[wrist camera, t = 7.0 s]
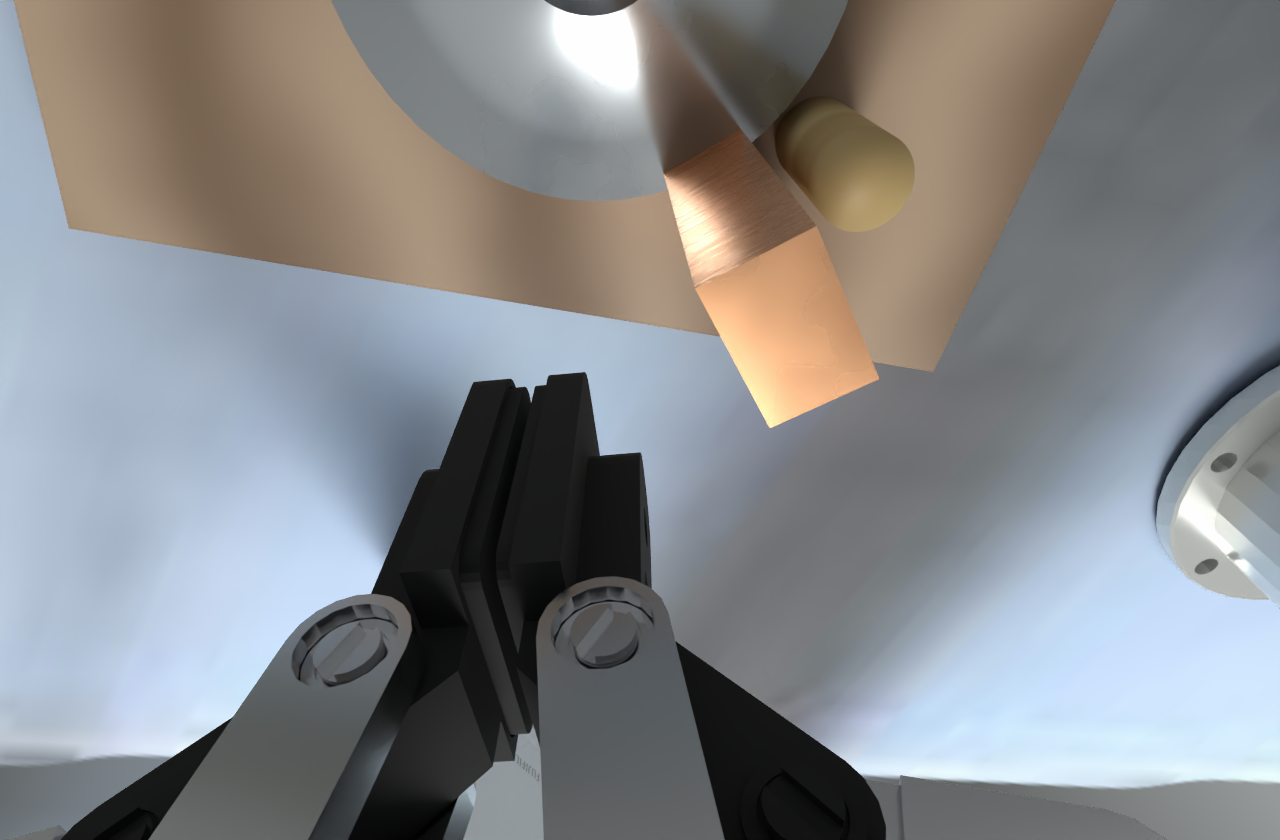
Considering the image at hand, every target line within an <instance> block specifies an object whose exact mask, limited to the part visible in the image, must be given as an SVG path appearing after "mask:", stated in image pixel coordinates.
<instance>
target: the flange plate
mask: <svg viewBox="0 0 1280 840" xmlns="http://www.w3.org/2000/svg"><path fill="white" fill-rule="evenodd" d="M331 1H332V4H333V6H334V8H335V10H336V12H337V14H338V16H339V18H340V20H341V22H342V24H343V26H344V28H345V31H346V33H347V35H348V36H349V38H350V39H351V41H352V43H353V44H354V46H355V48H356V49H357V51H358V52H359V54H360V56H361V57H362V59H363V61H364V62H365V64H366V65H367V67H368V69H369V70H370V71H371V73H372V74H373V75H374V76H375V78H376V79H377V80H378V82H379V83H380V84H381V86H382V87H383V88H384V89H385V91H386V92H387V93H388V95H389V96H390V97H391V98H392V100H393V101H394V102H395V103H396V104H397V105H398V106H399V107H400V108H401V109H402V110H403V111H404V112H405V113H406V114H407V115H408V116H409V117H410V118H411V119H412V121H413V122H414V123H415V124H416V125H417V126H418V127H420V128H421V129H422V130H423V131H424V132H426V133H427V134H428V135H429V136H430V137H432V138H433V139H434V140H435V141H436V142H438V143H439V144H440V145H441V146H442V147H444V148H445V149H446V150H448V151H449V152H451V153H452V154H454V155H455V156H457V157H458V158H460V159H462V160H463V161H465V162H466V163H468V164H469V165H471V166H472V167H474V168H476V169H478V170H480V171H482V172H484V173H486V174H488V175H490V176H492V177H494V178H496V179H498V180H500V181H502V182H505V183H507V184H510V185H513V186H516V187H519V188H522V189H525V190H528V191H530V192H534V193H538V194H543V195H548V196H552V197H557V198H562V199H572V200H585V201H607V200H624V199H630V198H635V197H640V196H646V195H651V194H655V193H658V192H661V191H665V190H668V192H669V196H670V199H671V203H672V206H673V210H674V214H675V217H676V221H677V225H678V228H679V232H680V236H681V239H682V243H683V247H684V250H685V254H686V258H687V261H688V265H689V269H690V272H691V276H692V280H693V283H694V287H695V290H696V292H697V293H698V295H699V297H700V299H701V301H702V303H703V305H704V306H705V308H706V310H707V312H708V314H709V316H710V318H711V319H712V321H713V323H714V325H715V327H716V329H717V331H718V332H719V334H720V336H721V338H722V340H723V342H724V344H725V345H726V347H727V349H728V351H729V353H730V355H731V357H732V359H733V360H734V362H735V364H736V366H737V368H738V370H739V372H740V373H741V375H742V377H743V379H744V381H745V383H746V385H747V386H748V388H749V390H750V392H751V394H752V396H753V398H754V399H755V401H756V403H757V405H758V407H759V409H760V411H761V412H762V414H763V416H764V418H765V420H766V422H767V424H768V425H769V427H770V428H772V427H774V426H776V425H778V424H780V423H783V422H785V421H787V420H789V419H791V418H794V417H796V416H798V415H800V414H803V413H805V412H807V411H809V410H811V409H814V408H816V407H818V406H820V405H822V404H825V403H827V402H829V401H831V400H833V399H836V398H838V397H840V396H842V395H844V394H847V393H849V392H851V391H853V390H856V389H858V388H860V387H862V386H864V385H867V384H869V383H871V382H873V381H875V380H878V379H879V377H878V375H877V372H876V370H875V367H874V365H873V362H872V360H871V357H870V355H869V353H868V350H867V348H866V345H865V343H864V340H863V338H862V335H861V333H860V331H859V328H858V326H857V323H856V321H855V318H854V316H853V313H852V311H851V309H850V306H849V304H848V301H847V299H846V296H845V294H844V291H843V289H842V287H841V284H840V282H839V279H838V277H837V274H836V272H835V269H834V267H833V265H832V262H831V260H830V257H829V255H828V252H827V250H826V247H825V245H824V243H823V240H822V238H821V235H820V233H819V230H818V228H817V226H816V224H815V223H814V222H813V221H812V219H811V218H810V217H809V215H808V214H807V213H806V212H805V210H804V209H803V208H802V206H801V205H800V204H799V203H798V201H797V200H796V199H795V197H794V196H793V195H792V194H791V192H790V191H789V190H788V188H787V187H786V186H785V185H784V183H783V182H782V181H781V180H780V178H779V177H778V176H777V174H776V173H775V172H774V171H773V169H772V168H771V167H770V165H769V164H768V163H767V162H766V160H765V159H764V158H763V156H762V155H761V154H760V153H759V151H758V150H757V149H756V148H755V146H754V145H753V144H752V142H753V141H754V140H755V139H756V138H758V137H759V136H760V135H761V134H762V133H764V132H765V131H766V130H767V128H768V127H769V126H770V125H771V124H772V123H773V122H774V121H775V120H776V119H777V118H778V117H779V116H780V115H781V114H782V113H783V112H784V111H785V110H786V108H787V107H788V106H789V105H790V103H791V102H792V101H793V99H794V98H795V97H796V95H797V94H798V93H799V91H800V90H801V89H802V87H803V86H804V85H805V84H806V82H807V81H808V80H809V78H810V76H811V75H812V73H813V71H814V70H815V68H816V66H817V65H818V63H819V61H820V60H821V58H822V56H823V54H824V53H825V51H826V49H827V48H828V46H829V44H830V42H831V39H832V37H833V35H834V33H835V31H836V28H837V26H838V24H839V22H840V20H841V17H842V15H843V13H844V11H845V8H846V5H847V2H848V0H331Z"/></svg>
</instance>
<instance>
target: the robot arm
mask: <svg viewBox="0 0 1280 840" xmlns="http://www.w3.org/2000/svg"><path fill="white" fill-rule="evenodd" d="M1156 527H1157V532H1158V537H1159V542H1160V544H1161V546H1162V548H1163V549H1164V551H1165V553H1166V554H1167V556H1168V558H1169V559H1170V560H1171V561H1172V562H1173V563H1174V564H1175V565H1176V567H1177V568H1178V569H1179V570H1180V571H1181V572H1182V573H1183V574H1184V575H1185V576H1186V577H1187V578H1188V579H1189V580H1191V581H1192V582H1194V583H1196V584H1197V585H1199V586H1200V587H1202V588H1204V589H1205V590H1208V591H1211V592H1214V593H1217V594H1220V595H1223V596H1226V597H1234V598H1242V599H1251V600H1264V599H1270V600H1271V601H1272V602H1273V603H1274V604H1275V605H1276V606H1277V607H1278V608H1279V609H1280V365H1279V366H1277V367H1276V368H1274V369H1272V370H1271V371H1269V372H1267V373H1265V374H1264V375H1262V376H1261V377H1260V378H1258V379H1257V380H1256V381H1254V382H1253V383H1252V384H1250V385H1249V386H1248V387H1246V388H1245V389H1244V390H1242V391H1241V392H1239V393H1238V394H1237V395H1235V396H1234V397H1233V398H1231V399H1230V400H1229V401H1228V402H1227V403H1226V404H1225V405H1224V406H1223V407H1222V408H1221V409H1220V410H1219V411H1218V412H1216V413H1215V414H1214V415H1213V416H1212V417H1211V418H1210V419H1209V420H1208V421H1207V422H1206V423H1205V424H1204V425H1203V426H1202V427H1201V428H1200V430H1199V431H1198V432H1197V433H1196V435H1195V436H1194V437H1193V438H1192V439H1191V441H1190V442H1189V443H1188V444H1187V445H1186V447H1185V448H1184V449H1183V450H1182V452H1181V454H1180V455H1179V457H1178V459H1177V461H1176V462H1175V464H1174V466H1173V467H1172V469H1171V471H1170V472H1169V474H1168V476H1167V478H1166V481H1165V484H1164V486H1163V489H1162V492H1161V495H1160V497H1159V500H1158V507H1157V516H1156ZM532 726H534V729H535V733H536V736H537V739H538V743H539V746H540V754H541V780H542V806H543V832H544V840H1167V839H1166V838H1164V837H1163V836H1161V835H1160V834H1158V833H1156V832H1155V831H1153V830H1152V829H1150V828H1149V827H1147V826H1145V825H1144V824H1142V823H1140V822H1139V821H1137V820H1136V819H1134V818H1131V817H1128V816H1125V815H1122V814H1118V813H1115V812H1112V811H1109V810H1106V809H1102V808H1095V807H1090V806H1083V805H1078V804H1071V803H1066V802H1059V801H1053V800H1047V799H1041V798H1035V797H1029V796H1023V795H1017V794H1011V793H1005V792H999V791H992V790H987V789H981V788H974V787H968V786H962V785H956V784H950V783H944V782H938V781H932V780H926V779H920V778H914V777H908V776H902V775H900V781H899V785H895V784H890V783H884V782H878V781H872V780H866V779H864V778H863V777H862V776H861V775H860V774H859V773H858V772H857V771H856V770H855V769H853V768H852V767H851V766H850V765H849V764H848V763H847V762H846V761H845V760H843V759H842V758H840V757H839V756H838V755H836V754H835V753H833V752H832V751H830V750H829V749H828V748H826V747H825V746H823V745H822V744H820V743H819V742H818V741H816V740H815V739H813V738H812V737H811V736H809V735H808V734H806V733H805V732H803V731H802V730H801V729H799V728H798V727H796V726H795V725H794V724H792V723H791V722H789V721H788V720H786V719H785V718H784V717H782V716H781V715H779V714H778V713H776V712H775V711H774V710H772V709H771V708H769V707H768V706H767V705H765V704H764V703H762V702H761V701H759V700H758V699H757V698H755V697H754V696H752V695H751V694H750V693H748V692H747V691H745V690H744V689H742V688H741V687H740V686H738V685H737V684H735V683H734V682H732V681H731V680H730V679H728V678H727V677H725V676H724V675H723V674H721V673H720V672H718V671H717V670H715V669H714V668H713V667H711V666H710V665H708V664H707V663H706V662H704V661H703V660H701V659H700V658H698V657H697V656H696V655H694V654H693V653H691V652H690V651H688V650H687V649H686V648H684V647H683V646H681V645H680V644H679V643H677V642H676V641H675V638H674V634H673V630H672V626H671V622H670V618H669V614H668V611H667V609H666V607H665V605H664V603H663V601H662V599H661V597H659V596H658V595H657V594H656V593H655V592H654V591H653V590H652V588H651V550H650V530H649V516H648V505H647V495H646V486H645V477H644V469H643V461H642V456H641V453H628V454H616V455H604V456H600V454H599V447H598V441H597V434H596V428H595V422H594V415H593V409H592V403H591V396H590V390H589V384H588V379H587V375H586V373H585V372H583V373H571V374H560V375H550V376H548V379H547V384H546V385H542V386H536V387H535V390H534V394H533V398H532V402H531V401H530V396H529V393H528V390H527V388H526V387H519V388H516V387H515V384H514V382H513V380H512V379H503V380H491V381H480V382H474V383H473V385H472V387H471V389H470V392H469V394H468V397H467V400H466V402H465V405H464V407H463V410H462V412H461V415H460V418H459V420H458V423H457V425H456V428H455V430H454V433H453V436H452V438H451V441H450V443H449V446H448V448H447V451H446V454H445V456H444V459H443V461H442V464H441V466H440V469H433V470H427V471H425V472H423V474H422V476H421V477H420V479H419V481H418V483H417V486H416V488H415V491H414V493H413V495H412V498H411V500H410V502H409V505H408V507H407V510H406V512H405V514H404V517H403V519H402V522H401V524H400V526H399V529H398V531H397V533H396V536H395V538H394V541H393V543H392V545H391V548H390V550H389V552H388V555H387V557H386V560H385V562H384V564H383V567H382V569H381V571H380V574H379V576H378V579H377V581H376V583H375V586H374V588H373V591H372V593H371V594H367V595H356V596H353V597H349V598H346V599H343V600H339V601H336V602H334V603H332V604H330V605H328V606H326V607H324V608H322V609H320V610H318V611H317V612H315V613H314V614H313V615H312V616H310V617H309V618H308V619H306V620H305V621H304V622H302V623H301V624H300V625H299V626H298V627H297V628H296V629H295V631H294V632H293V633H292V634H291V635H290V636H289V637H288V639H287V640H286V641H285V643H284V644H283V645H282V647H281V648H280V650H279V651H278V653H277V654H276V656H275V657H274V658H273V660H272V661H271V663H270V664H269V666H268V667H267V669H266V670H265V672H264V673H263V674H262V676H261V677H260V679H259V680H258V682H257V683H256V685H255V686H254V687H253V689H252V690H251V692H250V693H249V695H248V696H247V698H246V699H245V701H244V702H243V703H242V705H241V706H240V708H239V709H238V711H237V712H236V714H235V715H234V716H233V717H232V718H231V719H229V720H228V721H226V722H225V723H223V724H222V725H220V726H219V727H217V728H216V729H214V730H213V731H211V732H210V733H208V734H207V735H205V736H204V737H202V738H201V739H199V740H198V741H196V742H195V743H193V744H192V745H190V746H189V747H187V748H186V749H184V750H183V751H181V752H180V753H178V754H177V755H175V756H174V757H172V758H171V759H169V760H168V761H166V762H165V763H163V764H162V765H160V766H158V767H157V768H155V769H154V770H152V771H151V772H149V773H148V774H146V775H145V776H143V777H142V778H141V779H139V780H137V781H136V782H134V783H133V784H131V785H130V786H129V787H127V788H125V789H124V790H122V791H121V792H119V793H118V794H116V795H115V796H113V797H112V798H110V799H109V800H107V801H106V802H104V803H103V804H101V805H100V806H98V807H97V808H96V809H94V810H93V811H92V812H91V813H89V814H88V815H87V816H86V817H84V818H83V819H82V820H80V821H79V822H78V823H76V824H75V825H74V826H73V827H72V828H71V829H70V830H69V831H68V832H66V831H65V830H64V829H63V828H62V827H61V826H60V825H58V826H55V827H51V828H47V829H44V830H40V831H36V832H33V833H29V834H26V835H22V836H19V837H15V838H11V839H7V840H463V839H464V836H465V833H466V830H467V827H468V824H469V821H470V818H471V815H472V812H473V809H474V804H475V798H476V793H477V791H476V784H475V782H476V781H477V780H478V779H479V778H480V777H481V776H482V775H484V774H485V773H486V772H487V771H488V770H489V769H490V768H491V767H493V762H503V761H514V760H515V753H516V747H517V740H518V734H529V733H530V732H531V729H532Z"/></svg>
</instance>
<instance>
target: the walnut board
mask: <svg viewBox="0 0 1280 840" xmlns="http://www.w3.org/2000/svg"><path fill="white" fill-rule="evenodd" d="M1115 1H1116V0H848V2H847V5H846V8H845V11H844V13H843V15H842V17H841V20H840V22H839V24H838V26H837V28H836V31H835V33H834V35H833V37H832V39H831V42H830V44H829V46H828V48H827V49H826V51H825V53H824V54H823V56H822V58H821V60H820V61H819V63H818V65H817V66H816V68H815V70H814V71H813V73H812V75H811V76H810V78H809V80H808V81H807V82H806V84H805V85H804V86H803V87H802V89H801V90H800V91H799V93H798V94H797V95H796V97H795V98H794V99H793V101H792V102H791V103H790V105H789V106H788V107H787V108H786V110H785V111H784V112H783V113H782V114H781V115H780V116H779V117H778V118H777V119H776V120H775V121H774V122H773V123H772V124H771V125H770V126H769V127H768V128H767V130H766V131H765V132H764V133H762V134H761V135H760V136H759V137H758V138H756V139H755V140H754V141H753V142H752V144H753V145H754V146H755V148H756V149H757V150H758V151H759V153H760V154H761V155H762V156H763V158H764V159H765V160H766V162H767V163H768V164H769V165H770V167H771V168H772V169H773V171H774V172H775V173H776V174H777V176H778V177H779V178H780V180H781V181H782V182H783V183H784V185H785V186H786V187H787V188H788V190H789V191H790V192H791V194H792V195H793V196H794V197H795V199H796V200H797V201H798V203H799V204H800V205H801V206H802V208H803V209H804V210H805V212H806V213H807V214H808V215H809V217H810V218H811V219H812V221H813V222H814V223H815V224H816V226H817V228H818V230H819V233H820V235H821V238H822V240H823V243H824V245H825V247H826V250H827V252H828V255H829V257H830V260H831V262H832V265H833V267H834V269H835V272H836V274H837V277H838V279H839V282H840V284H841V287H842V289H843V291H844V294H845V296H846V299H847V301H848V304H849V306H850V309H851V311H852V313H853V316H854V318H855V321H856V323H857V326H858V328H859V331H860V333H861V335H862V338H863V340H864V343H865V345H866V348H867V350H868V353H869V355H870V357H871V360H872V362H877V363H883V364H889V365H895V366H901V367H907V368H913V369H919V370H925V371H931V372H933V371H934V369H935V367H936V365H937V363H938V361H939V359H940V357H941V355H942V353H943V351H944V349H945V347H946V345H947V343H948V341H949V339H950V337H951V335H952V333H953V331H954V329H955V327H956V325H957V322H958V320H959V318H960V316H961V314H962V312H963V310H964V308H965V306H966V304H967V302H968V300H969V298H970V296H971V294H972V292H973V290H974V288H975V286H976V284H977V282H978V280H979V278H980V276H981V274H982V272H983V270H984V268H985V265H986V263H987V261H988V259H989V257H990V255H991V253H992V251H993V249H994V247H995V245H996V243H997V241H998V239H999V237H1000V235H1001V233H1002V231H1003V229H1004V227H1005V225H1006V223H1007V221H1008V219H1009V217H1010V215H1011V213H1012V211H1013V208H1014V206H1015V204H1016V202H1017V200H1018V198H1019V196H1020V194H1021V192H1022V190H1023V188H1024V186H1025V184H1026V182H1027V180H1028V178H1029V176H1030V174H1031V172H1032V170H1033V168H1034V166H1035V164H1036V162H1037V160H1038V158H1039V156H1040V154H1041V152H1042V149H1043V147H1044V145H1045V143H1046V141H1047V139H1048V137H1049V135H1050V133H1051V131H1052V129H1053V127H1054V125H1055V123H1056V121H1057V119H1058V117H1059V115H1060V113H1061V111H1062V109H1063V107H1064V105H1065V103H1066V101H1067V99H1068V97H1069V95H1070V92H1071V90H1072V88H1073V86H1074V84H1075V82H1076V80H1077V78H1078V76H1079V74H1080V72H1081V70H1082V68H1083V66H1084V64H1085V62H1086V60H1087V58H1088V56H1089V54H1090V52H1091V50H1092V48H1093V46H1094V44H1095V42H1096V40H1097V38H1098V35H1099V33H1100V31H1101V29H1102V27H1103V25H1104V23H1105V21H1106V19H1107V17H1108V15H1109V13H1110V11H1111V9H1112V7H1113V5H1114V3H1115ZM14 3H15V7H16V11H17V15H18V20H19V24H20V28H21V32H22V36H23V40H24V44H25V49H26V53H27V57H28V61H29V65H30V69H31V73H32V77H33V82H34V86H35V90H36V94H37V98H38V102H39V106H40V111H41V115H42V119H43V123H44V127H45V131H46V135H47V139H48V144H49V148H50V152H51V156H52V160H53V164H54V168H55V173H56V177H57V181H58V185H59V189H60V193H61V197H62V201H63V206H64V210H65V214H66V218H67V222H68V226H69V228H70V229H76V230H82V231H88V232H94V233H100V234H106V235H112V236H118V237H124V238H130V239H136V240H142V241H148V242H154V243H160V244H166V245H172V246H178V247H184V248H190V249H196V250H202V251H208V252H214V253H220V254H226V255H232V256H238V257H244V258H250V259H256V260H262V261H268V262H274V263H280V264H286V265H292V266H298V267H304V268H311V269H317V270H323V271H329V272H335V273H341V274H347V275H353V276H359V277H365V278H371V279H377V280H383V281H389V282H395V283H401V284H407V285H413V286H419V287H425V288H431V289H437V290H443V291H449V292H455V293H461V294H467V295H473V296H479V297H485V298H491V299H497V300H503V301H509V302H515V303H521V304H527V305H533V306H539V307H545V308H552V309H558V310H564V311H570V312H576V313H582V314H588V315H594V316H600V317H606V318H612V319H618V320H624V321H630V322H636V323H642V324H648V325H654V326H660V327H666V328H672V329H678V330H684V331H690V332H696V333H702V334H708V335H714V336H720V334H719V332H718V331H717V329H716V327H715V325H714V323H713V321H712V319H711V318H710V316H709V314H708V312H707V310H706V308H705V306H704V305H703V303H702V301H701V299H700V297H699V295H698V293H697V292H696V290H695V287H694V283H693V280H692V276H691V272H690V269H689V265H688V261H687V258H686V254H685V250H684V247H683V243H682V239H681V236H680V232H679V228H678V225H677V221H676V217H675V214H674V210H673V206H672V203H671V199H670V196H669V192H668V190H665V191H661V192H658V193H655V194H651V195H646V196H640V197H635V198H630V199H624V200H607V201H585V200H572V199H562V198H557V197H552V196H548V195H543V194H538V193H534V192H530V191H528V190H525V189H522V188H519V187H516V186H513V185H510V184H507V183H505V182H502V181H500V180H498V179H496V178H494V177H492V176H490V175H488V174H486V173H484V172H482V171H480V170H478V169H476V168H474V167H472V166H471V165H469V164H468V163H466V162H465V161H463V160H462V159H460V158H458V157H457V156H455V155H454V154H452V153H451V152H449V151H448V150H446V149H445V148H444V147H442V146H441V145H440V144H439V143H438V142H436V141H435V140H434V139H433V138H432V137H430V136H429V135H428V134H427V133H426V132H424V131H423V130H422V129H421V128H420V127H418V126H417V125H416V124H415V123H414V122H413V121H412V119H411V118H410V117H409V116H408V115H407V114H406V113H405V112H404V111H403V110H402V109H401V108H400V107H399V106H398V105H397V104H396V103H395V102H394V101H393V100H392V98H391V97H390V96H389V95H388V93H387V92H386V91H385V89H384V88H383V87H382V86H381V84H380V83H379V82H378V80H377V79H376V78H375V76H374V75H373V74H372V73H371V71H370V70H369V69H368V67H367V65H366V64H365V62H364V61H363V59H362V57H361V56H360V54H359V52H358V51H357V49H356V48H355V46H354V44H353V43H352V41H351V39H350V38H349V36H348V35H347V33H346V31H345V28H344V26H343V24H342V22H341V20H340V18H339V16H338V14H337V12H336V10H335V8H334V6H333V4H332V1H331V0H14ZM720 337H721V336H720Z"/></svg>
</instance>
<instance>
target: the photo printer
mask: <svg viewBox="0 0 1280 840" xmlns="http://www.w3.org/2000/svg"><path fill="white" fill-rule="evenodd" d="M475 784H476V791H477V793H476V798H475V804H474V809H473V812H472V815H471V818H470V821H469V824H468V827H467V830H466V833H465V836H464V839H463V840H544V832H543V806H542V780H541V754H540V746H539V743H538V739H537V736H536V733H535V729H534V726H532V729H531V732H530V733H529V734H518V740H517V747H516V753H515V760H514V761H503V762H493V767H491V768H490V769H489V770H488V771H487V772H486V773H485V774H484V775H482V776H481V777H480V778H479V779H478V780H477V781H476V782H475Z"/></svg>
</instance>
